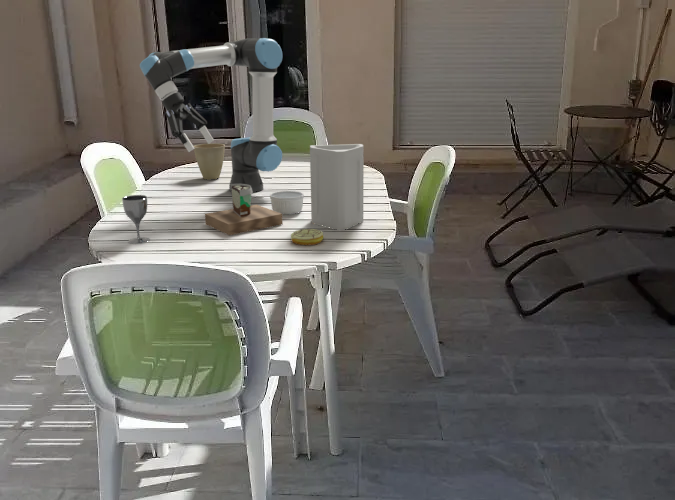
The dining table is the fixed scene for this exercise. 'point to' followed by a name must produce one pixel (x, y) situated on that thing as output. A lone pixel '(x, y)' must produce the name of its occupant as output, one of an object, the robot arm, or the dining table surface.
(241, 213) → the food container
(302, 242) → the decorated donut
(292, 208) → the ramekin
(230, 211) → the walnut stand
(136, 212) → the wine glass
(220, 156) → the plant pot
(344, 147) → the white triangular vase
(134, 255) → the dining table surface
